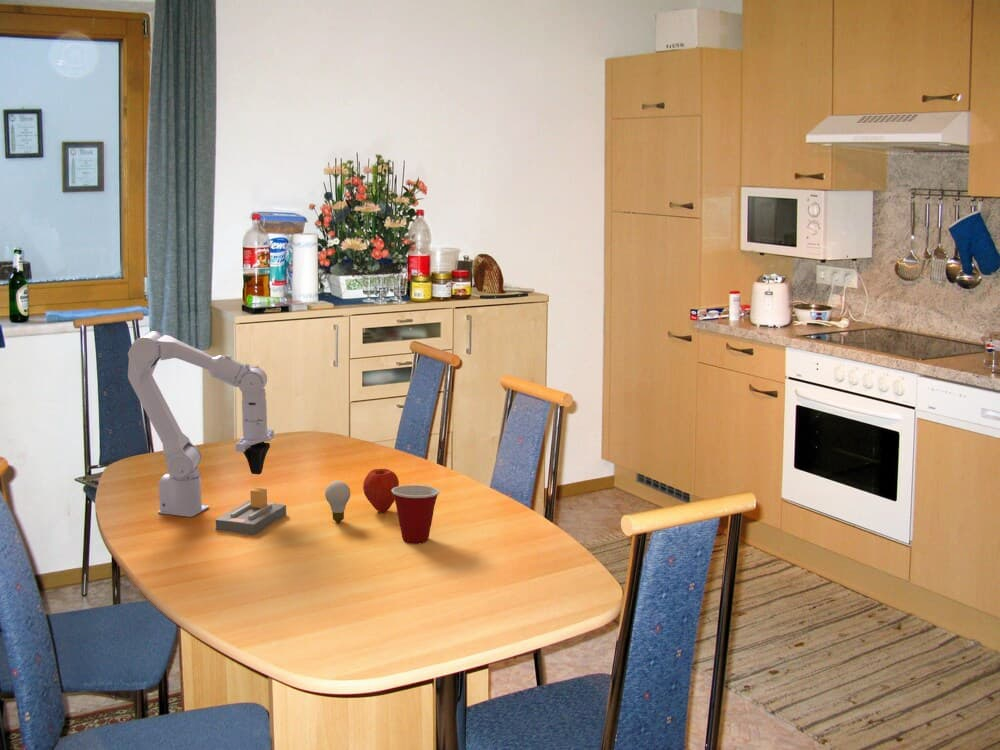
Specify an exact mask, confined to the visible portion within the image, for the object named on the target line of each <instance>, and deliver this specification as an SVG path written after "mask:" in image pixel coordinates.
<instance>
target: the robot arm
mask: <svg viewBox="0 0 1000 750" xmlns="http://www.w3.org/2000/svg"><path fill="white" fill-rule="evenodd" d="M127 356H128V367H127V368H128V369H127V379H128V381H129V383H130V385H131V387H132V389H133V391H134V393H135V394H136V396H137V398H138V400H139V402H140V403H141V406H142V407H143V410H144V411H145V413H146V415H147V417H148V419H149V420H150V423H151V424H152V426H153V428H154V430H155V432H156V435H157V436H158V438H159V440H160V442H161V443H162V452H163V453H162V454H163V457H164V458H165V462H166V470H167V472H168V473H165V474H163V475H162V476H161V478H160V480H159V482H158V483H159V484H158V498H159V501H158V502H159V510H158V511H157V513H158V514H165V515H172V516H181V517H188V518H193V517H195V516H197V515H198V514H199V513H202V512H204V511H205V510H207V509H209V508H210V506H209V505H206V504H202V500H203V499H202V481H201V472H200V470H199V468H198V466H199V465H200V463H201V461H202V452H201V451H200V449H199V448H198V447H197V446H195V445H194V444H193V443H192V442H191V440H190V438H189V437H188V436H187V435H186V434H184V433H183V432H182V430H181V428H180V425H179V424H178V422H177V420H176V418H175V416H174V414H173V412H172V411H171V409H170V407H169V405H168V402H167V401H166V399H165V397H164V394H163V393H162V392H161V389H160V388H159V385H158V384H157V382H156V380H155V378H154V376H153V374H154V372H155V369H156V366H157V365H158V362H159V361H165V360H170V359H177V360H181V361H183V362H185V363H186V362H187V363H188V364H191V365H194V366H196V367H200V368H202V369H204V370H207V371H208V372H209V375H210V377H212V378H213V379H216V380H218V381H221V382H223V383H225V384H227V385H229V386H232V387H235V388H238V389H239V391H240V392H241V398H242V400H241V416H242V436H241V438H240V439H239V441H238V442H236V443H235V451H236V452H237V453H238V452H240V453H243V454H244V456H245V458H246V460H247V464H248V466H249V469H250V473H251V474H252V475H260V474H261V475H262V473H263V470H264V463H265V459H266V456H267V454H268V451H269V449H270V448H271V444H270V443H269V442H270V441H271V440H273V438H275V431H274V429H268V416H267V415H268V413H267V408H268V407H267V399H266V395H267V394H266V389H265V387H266V385H267V382H268V376H267V374H266V372H265V371H264V370H263V369H262V368H260V367H259V366H251V364H249V363H246V364H245V363H242V362H240V361H236V360H235V359H232V355H230V354H226V355H223V354H219V355H217V356H213V355H210V354H208V353H206V352H204V351H202V350H199V349H198V348H195V347H193V346H191V345H189V344H187V343H185V342H182V341H181V340H178V339H177V338H174V337H173V336H171V335H169V334H162V333H161V332H159V331H157V330H152V331H148V332H145V334H143V336H141V337H139V338H137V339H135V340H134V341H133V343H132V345H131V347H130V348H129V350H128V352H127Z"/></svg>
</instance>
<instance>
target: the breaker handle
mask: <svg viewBox="0 0 1000 750" xmlns="http://www.w3.org/2000/svg"><path fill="white" fill-rule="evenodd" d="M267 489H268V488H259V487H255V488H253V489H251V490H250V492H249V493H250V501H251V507H256V508H262V507H264V506H266V505H267V503H268V490H267Z"/></svg>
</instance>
